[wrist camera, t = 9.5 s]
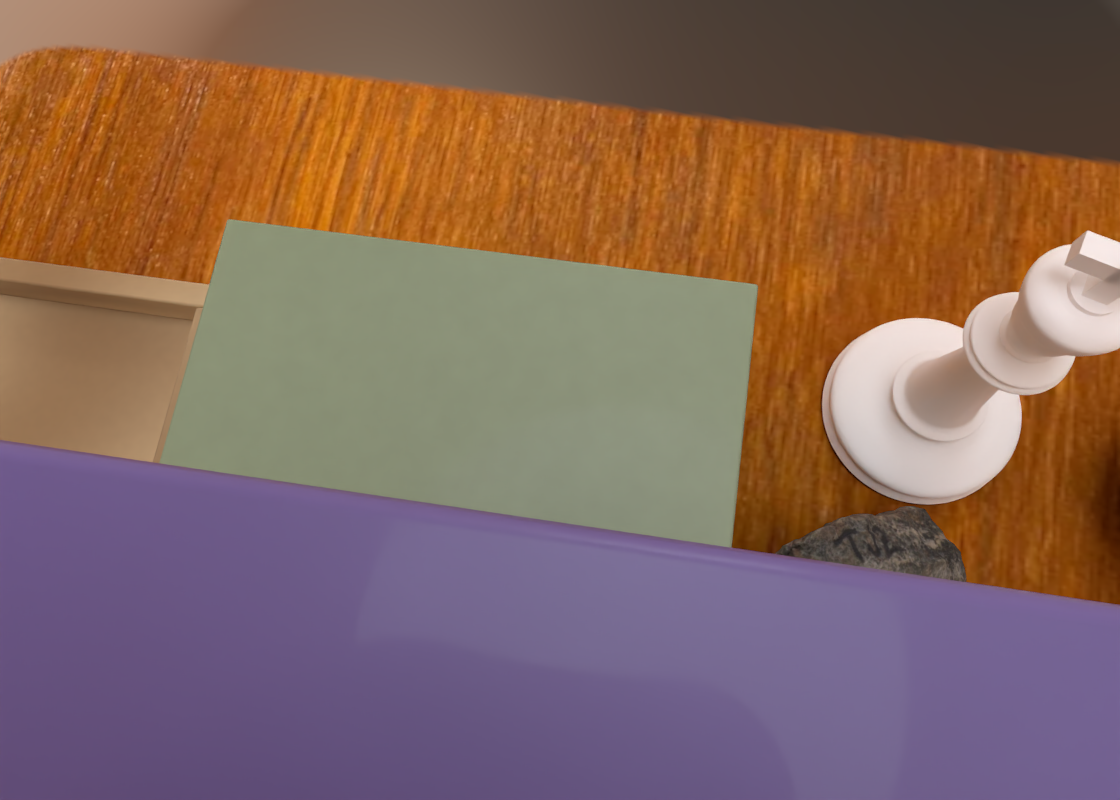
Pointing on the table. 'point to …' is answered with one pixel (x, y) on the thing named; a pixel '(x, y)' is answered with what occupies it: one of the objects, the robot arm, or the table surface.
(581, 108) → the table surface
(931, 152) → the table surface
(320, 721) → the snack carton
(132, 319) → the drawer
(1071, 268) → the chess piece
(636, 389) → the cabinet
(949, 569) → the rock
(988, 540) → the table surface
